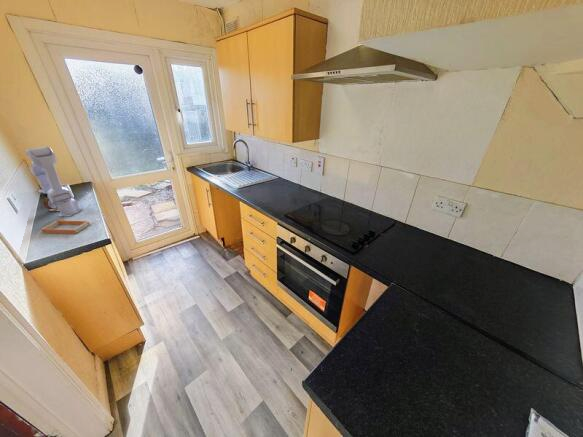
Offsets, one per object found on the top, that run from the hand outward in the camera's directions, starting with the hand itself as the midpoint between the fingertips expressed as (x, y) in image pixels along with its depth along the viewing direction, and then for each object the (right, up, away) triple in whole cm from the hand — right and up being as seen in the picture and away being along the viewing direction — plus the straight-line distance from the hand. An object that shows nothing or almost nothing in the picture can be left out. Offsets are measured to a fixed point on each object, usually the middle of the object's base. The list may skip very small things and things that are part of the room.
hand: (57, 202), depth 154 cm
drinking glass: (-8, +5, +17) cm, 20 cm away
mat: (0, -4, +2) cm, 4 cm away
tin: (0, -3, +2) cm, 3 cm away
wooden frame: (+27, -17, -20) cm, 38 cm away
